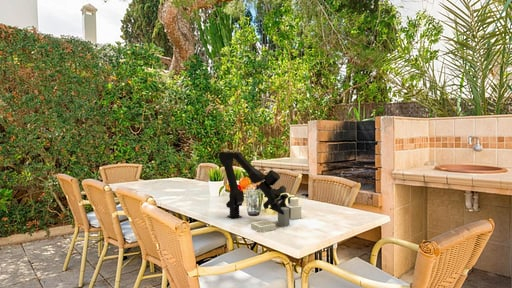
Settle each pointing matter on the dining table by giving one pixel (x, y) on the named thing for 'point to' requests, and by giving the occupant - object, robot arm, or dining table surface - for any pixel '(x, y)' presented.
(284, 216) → the grey tall block
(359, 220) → the dining table surface
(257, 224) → the tray
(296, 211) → the yellow black printed box
